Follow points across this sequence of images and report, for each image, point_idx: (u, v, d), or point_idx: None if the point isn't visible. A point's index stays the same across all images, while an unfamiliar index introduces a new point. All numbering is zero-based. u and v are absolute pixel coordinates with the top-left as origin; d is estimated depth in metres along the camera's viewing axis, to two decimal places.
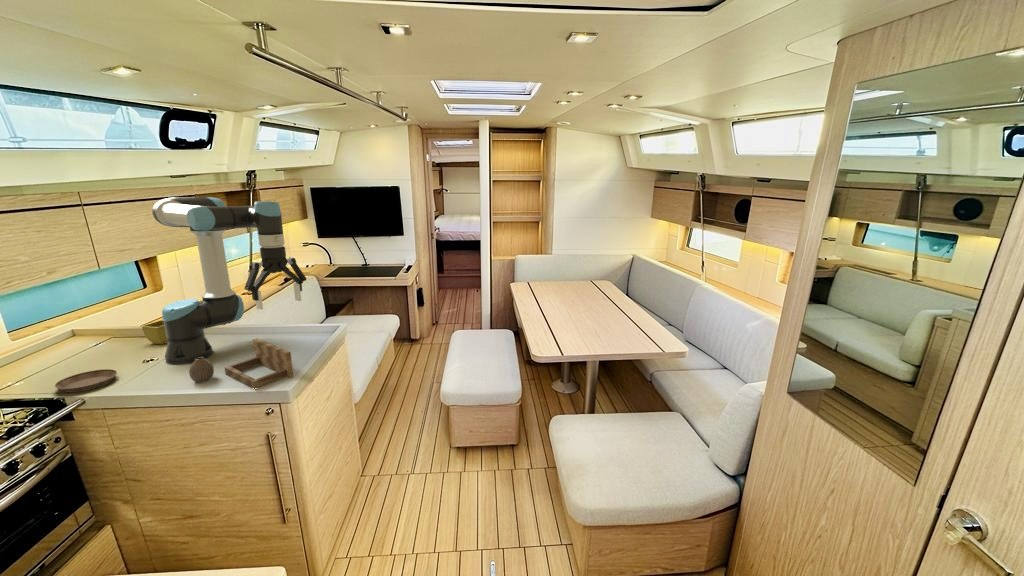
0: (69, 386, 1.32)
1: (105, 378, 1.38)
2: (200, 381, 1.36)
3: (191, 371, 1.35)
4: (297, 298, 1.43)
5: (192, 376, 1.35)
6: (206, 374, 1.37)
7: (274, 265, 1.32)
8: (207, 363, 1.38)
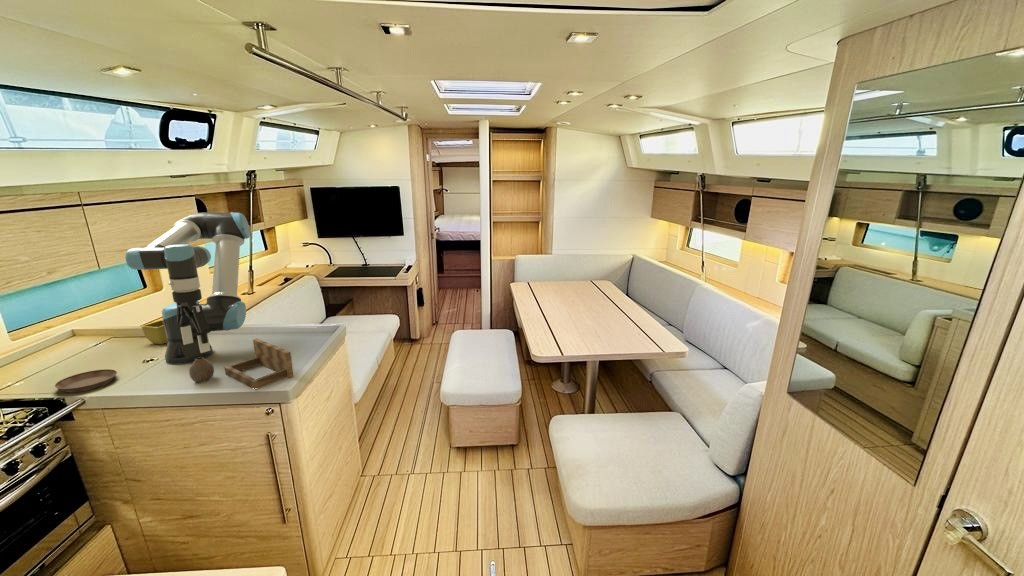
0: (69, 386, 1.32)
1: (105, 378, 1.38)
2: (200, 381, 1.36)
3: (191, 371, 1.35)
4: None
5: (192, 376, 1.35)
6: (206, 374, 1.37)
7: (181, 308, 1.31)
8: (207, 363, 1.38)
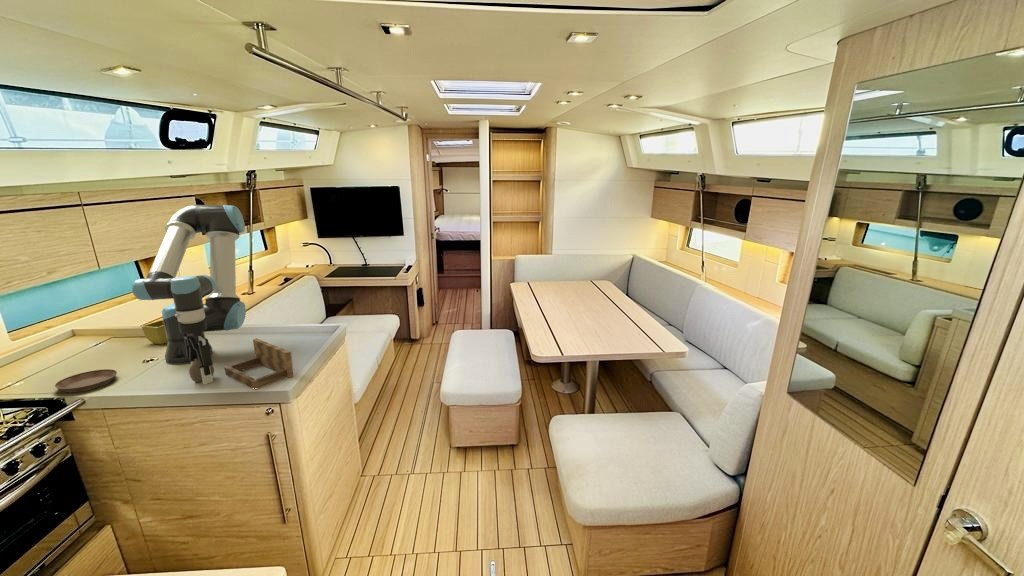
0: (69, 386, 1.32)
1: (105, 378, 1.38)
2: (200, 381, 1.36)
3: (191, 371, 1.35)
4: None
5: (192, 376, 1.35)
6: None
7: (187, 338, 1.34)
8: None
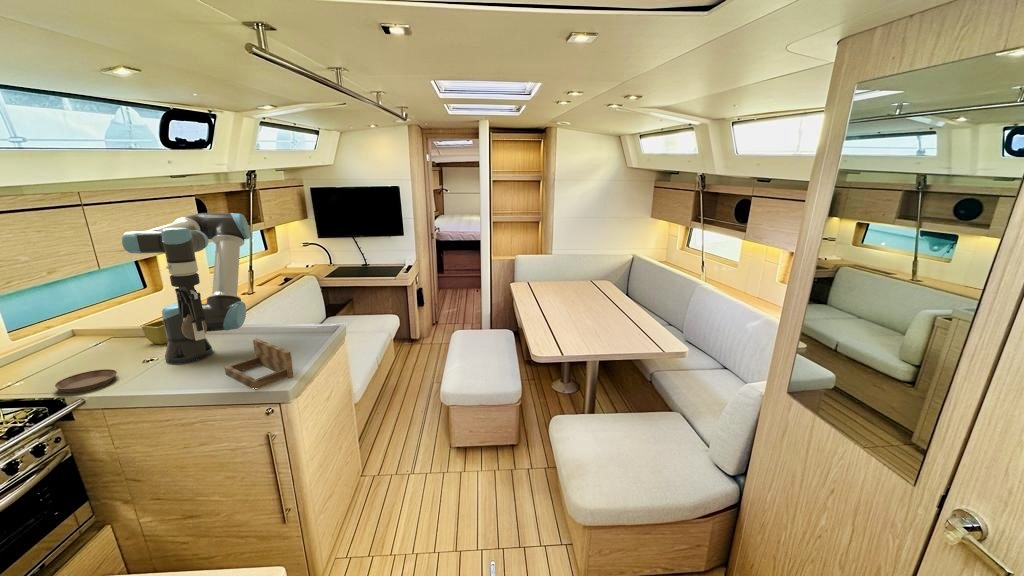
0: (69, 386, 1.32)
1: (105, 378, 1.38)
2: (193, 337, 1.32)
3: (183, 327, 1.31)
4: None
5: (184, 332, 1.31)
6: None
7: (179, 292, 1.30)
8: None
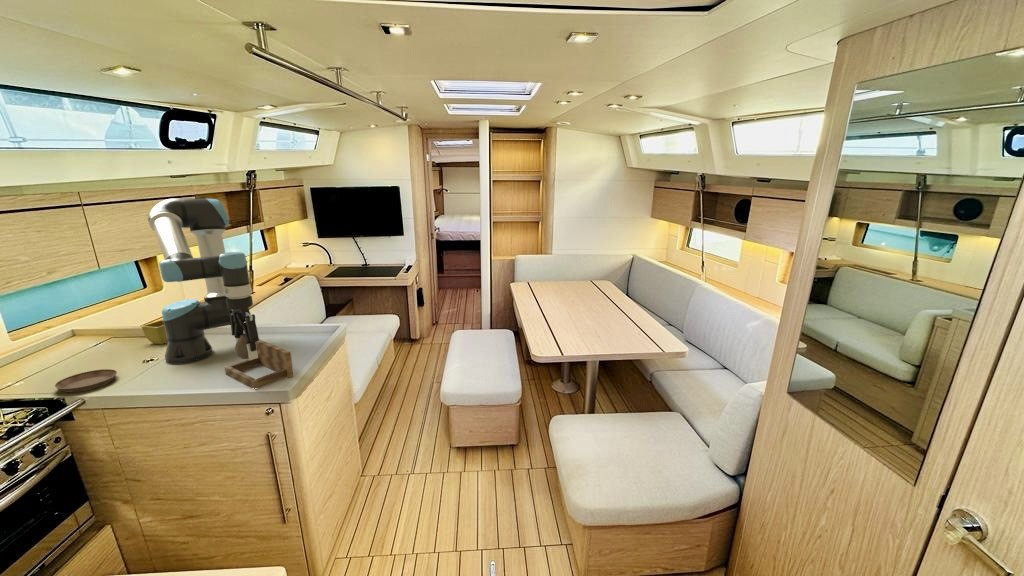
0: (69, 386, 1.32)
1: (105, 378, 1.38)
2: (246, 357, 1.37)
3: (237, 347, 1.35)
4: None
5: (238, 352, 1.36)
6: None
7: (233, 314, 1.35)
8: None
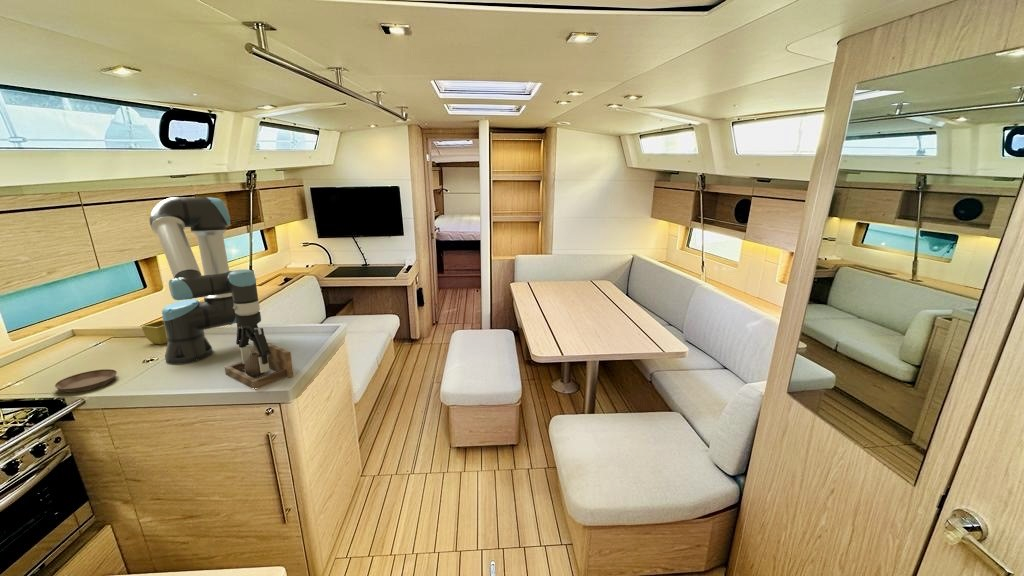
0: (69, 386, 1.32)
1: (105, 378, 1.38)
2: (255, 376, 1.41)
3: (247, 366, 1.39)
4: None
5: (248, 371, 1.39)
6: None
7: (242, 330, 1.38)
8: None
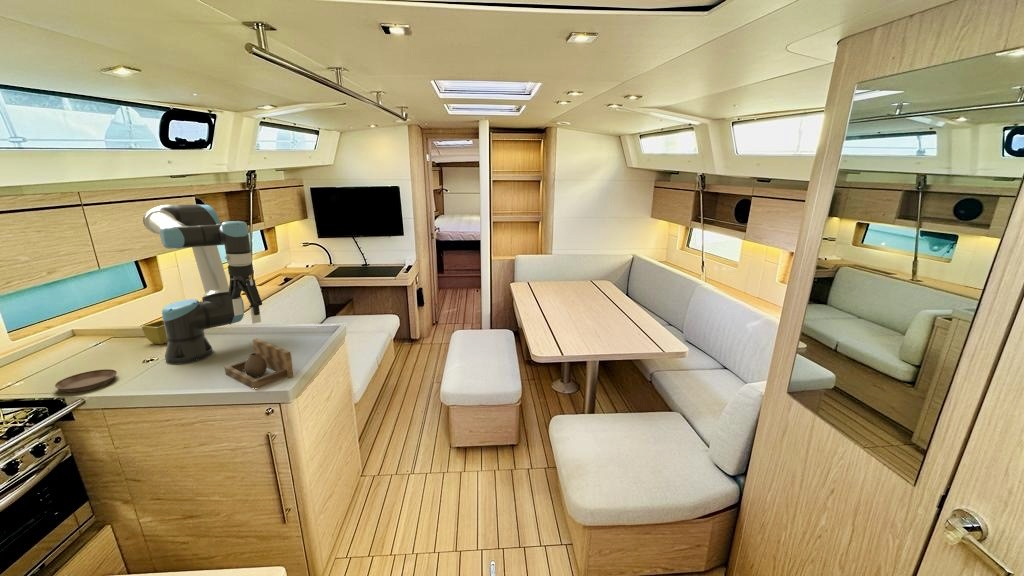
0: (69, 386, 1.32)
1: (105, 378, 1.38)
2: (255, 376, 1.41)
3: (247, 366, 1.39)
4: None
5: (248, 371, 1.39)
6: (261, 369, 1.41)
7: (235, 281, 1.40)
8: (261, 359, 1.42)
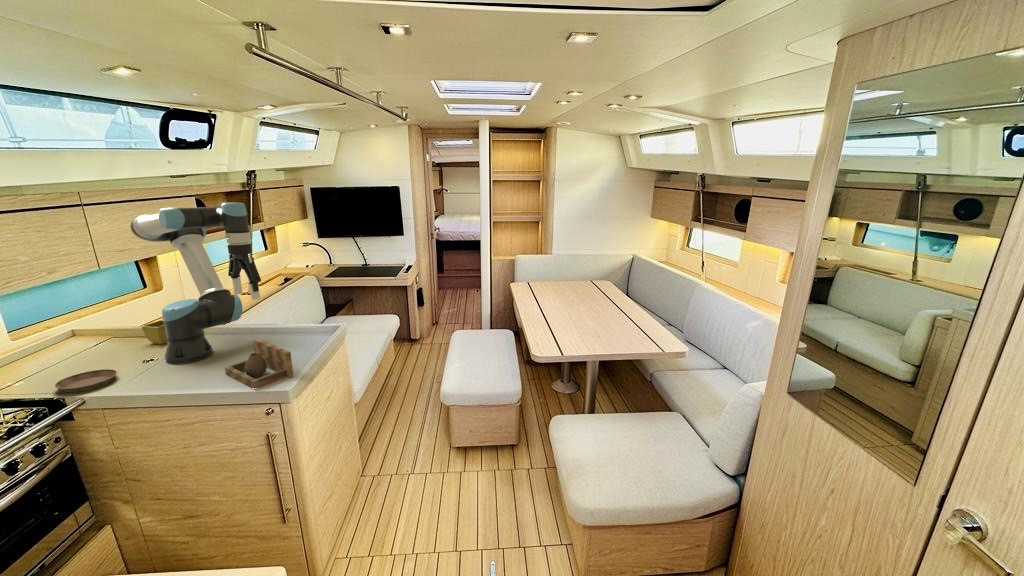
0: (69, 386, 1.32)
1: (105, 378, 1.38)
2: (255, 376, 1.41)
3: (247, 366, 1.39)
4: None
5: (248, 371, 1.39)
6: (261, 369, 1.41)
7: (234, 260, 1.46)
8: (261, 359, 1.42)
